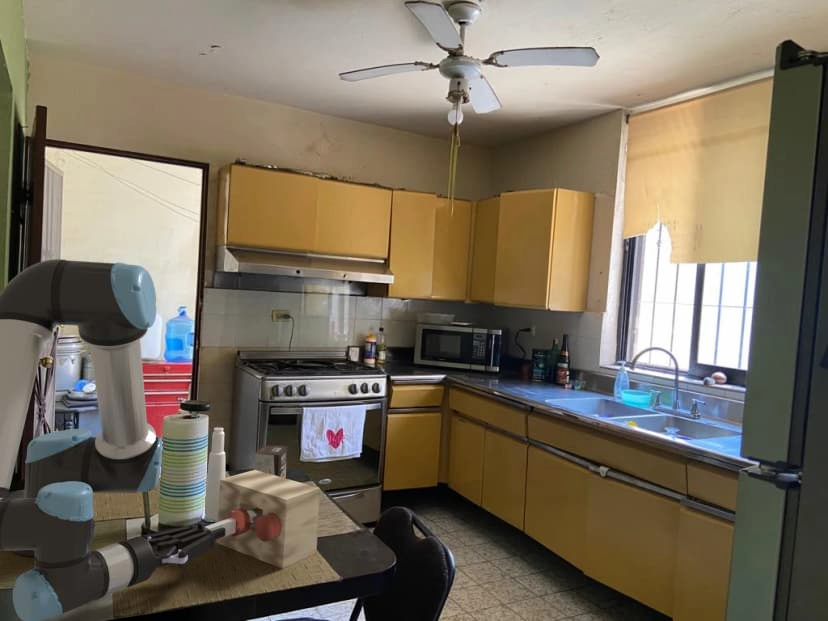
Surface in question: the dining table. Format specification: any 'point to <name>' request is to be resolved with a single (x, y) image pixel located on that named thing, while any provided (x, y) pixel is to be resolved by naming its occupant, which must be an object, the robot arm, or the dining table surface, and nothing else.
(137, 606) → the dining table surface
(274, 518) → the block
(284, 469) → the coffee box
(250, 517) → the knob
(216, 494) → the cosmetic bottle
